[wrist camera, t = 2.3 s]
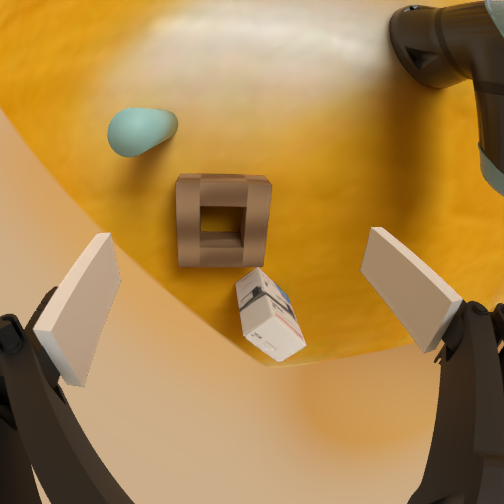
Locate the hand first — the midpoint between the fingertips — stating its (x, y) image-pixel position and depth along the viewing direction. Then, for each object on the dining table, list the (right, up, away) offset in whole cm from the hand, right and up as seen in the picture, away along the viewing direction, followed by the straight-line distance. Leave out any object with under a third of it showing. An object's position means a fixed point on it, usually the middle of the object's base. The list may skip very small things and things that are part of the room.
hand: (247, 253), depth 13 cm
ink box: (+2, -6, +31) cm, 32 cm away
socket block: (-4, +5, +24) cm, 25 cm away
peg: (-11, +16, +17) cm, 26 cm away
